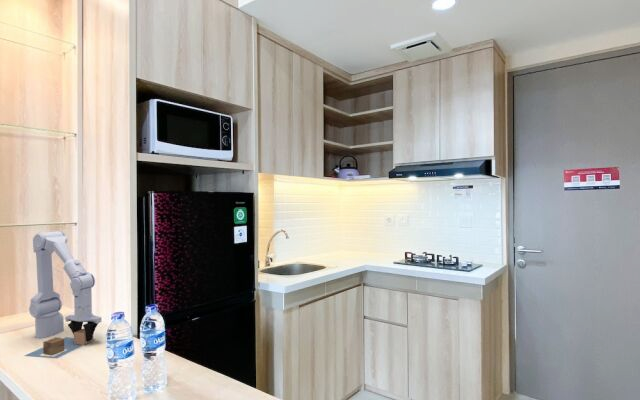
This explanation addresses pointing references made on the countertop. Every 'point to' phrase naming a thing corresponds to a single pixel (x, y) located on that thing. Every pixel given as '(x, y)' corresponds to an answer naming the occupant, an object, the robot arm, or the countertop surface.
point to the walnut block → (53, 346)
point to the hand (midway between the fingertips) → (83, 340)
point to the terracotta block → (80, 337)
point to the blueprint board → (68, 348)
